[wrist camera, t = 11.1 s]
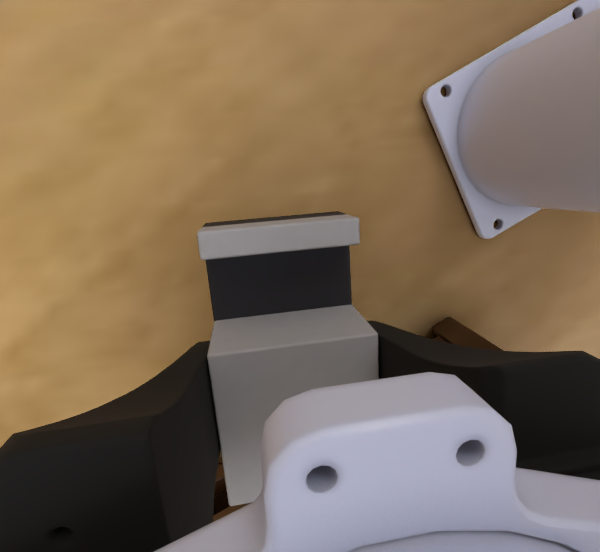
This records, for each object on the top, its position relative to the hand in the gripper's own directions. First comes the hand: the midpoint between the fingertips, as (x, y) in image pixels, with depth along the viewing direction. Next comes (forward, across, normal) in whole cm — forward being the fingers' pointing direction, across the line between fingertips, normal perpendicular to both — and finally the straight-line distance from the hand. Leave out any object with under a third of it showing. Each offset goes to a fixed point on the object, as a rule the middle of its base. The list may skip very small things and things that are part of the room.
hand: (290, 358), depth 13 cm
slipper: (+1, 0, -1) cm, 2 cm away
